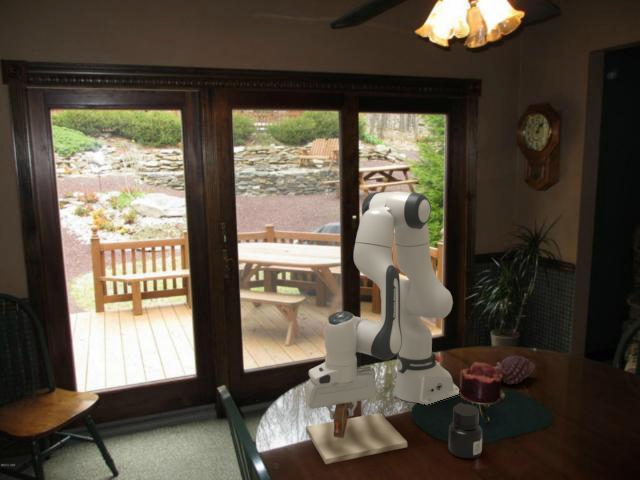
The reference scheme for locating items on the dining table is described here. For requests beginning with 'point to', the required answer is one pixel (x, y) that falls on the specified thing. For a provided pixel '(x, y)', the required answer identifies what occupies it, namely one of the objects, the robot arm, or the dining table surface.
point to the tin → (340, 420)
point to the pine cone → (514, 369)
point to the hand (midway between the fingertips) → (341, 416)
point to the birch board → (356, 438)
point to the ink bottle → (465, 432)
